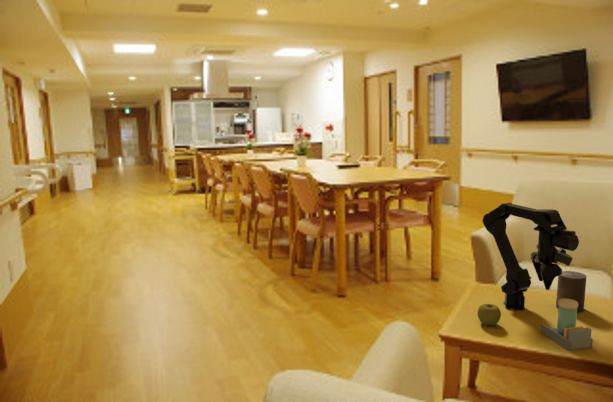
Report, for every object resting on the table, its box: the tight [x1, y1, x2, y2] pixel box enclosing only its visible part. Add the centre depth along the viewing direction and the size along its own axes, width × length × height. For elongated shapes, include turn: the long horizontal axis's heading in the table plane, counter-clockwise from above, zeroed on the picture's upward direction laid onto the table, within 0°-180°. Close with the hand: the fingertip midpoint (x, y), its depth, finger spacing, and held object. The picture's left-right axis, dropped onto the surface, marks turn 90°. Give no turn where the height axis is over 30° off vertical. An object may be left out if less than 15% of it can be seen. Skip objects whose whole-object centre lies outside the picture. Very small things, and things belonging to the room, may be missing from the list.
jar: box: [556, 299, 578, 337], centre depth 164 cm, size 6×6×13 cm
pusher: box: [564, 325, 585, 339], centre depth 161 cm, size 1×6×5 cm, turn 101°
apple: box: [477, 303, 502, 327], centre depth 177 cm, size 8×8×7 cm
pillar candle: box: [555, 270, 587, 314], centre depth 189 cm, size 10×10×15 cm
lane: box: [539, 323, 594, 352], centre depth 164 cm, size 14×9×6 cm, turn 11°
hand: (544, 285), depth 179 cm, fingers open, 9 cm apart
